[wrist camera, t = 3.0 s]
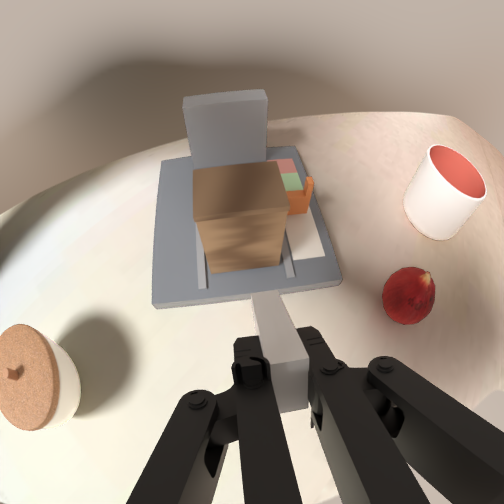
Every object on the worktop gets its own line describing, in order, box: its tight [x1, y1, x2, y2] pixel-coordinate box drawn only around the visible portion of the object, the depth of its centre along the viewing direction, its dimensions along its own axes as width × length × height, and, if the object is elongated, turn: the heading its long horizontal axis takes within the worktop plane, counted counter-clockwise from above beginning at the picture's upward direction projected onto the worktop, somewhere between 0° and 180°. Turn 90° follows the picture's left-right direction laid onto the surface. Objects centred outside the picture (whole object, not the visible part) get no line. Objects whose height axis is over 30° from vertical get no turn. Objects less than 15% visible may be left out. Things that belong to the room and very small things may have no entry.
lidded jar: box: [0, 324, 81, 431], centre depth 19 cm, size 11×11×9 cm
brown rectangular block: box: [193, 161, 290, 274], centre depth 25 cm, size 7×5×10 cm
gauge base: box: [152, 89, 342, 309], centre depth 29 cm, size 20×22×12 cm
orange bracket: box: [286, 177, 314, 215], centre depth 29 cm, size 11×1×5 cm, turn 98°
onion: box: [382, 267, 435, 325], centre depth 24 cm, size 6×6×8 cm
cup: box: [403, 144, 487, 241], centre depth 30 cm, size 10×10×10 cm
